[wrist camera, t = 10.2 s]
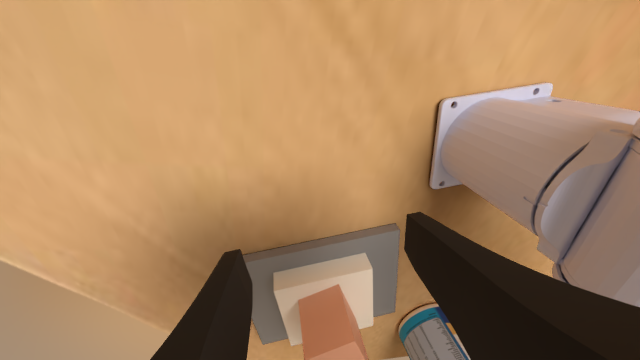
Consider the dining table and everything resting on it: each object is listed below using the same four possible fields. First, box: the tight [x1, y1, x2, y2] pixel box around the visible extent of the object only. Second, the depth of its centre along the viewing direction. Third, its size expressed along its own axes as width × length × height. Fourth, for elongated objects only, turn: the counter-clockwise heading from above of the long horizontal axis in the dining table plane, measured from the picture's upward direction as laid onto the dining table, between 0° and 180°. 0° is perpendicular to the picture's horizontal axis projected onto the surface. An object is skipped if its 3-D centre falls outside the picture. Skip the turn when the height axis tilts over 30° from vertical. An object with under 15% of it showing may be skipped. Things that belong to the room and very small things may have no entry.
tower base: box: [242, 223, 400, 346], centre depth 25 cm, size 16×13×3 cm
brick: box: [298, 284, 369, 360], centre depth 21 cm, size 4×6×5 cm, turn 20°
